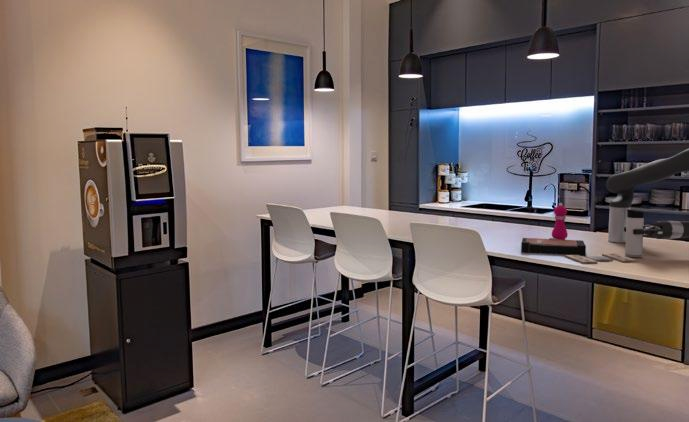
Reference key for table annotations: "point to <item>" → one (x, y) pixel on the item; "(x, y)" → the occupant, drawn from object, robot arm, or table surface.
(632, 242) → the travel mug
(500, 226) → the table surface
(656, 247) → the table surface
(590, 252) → the table surface
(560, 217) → the pepper mill
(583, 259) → the brown flat boards
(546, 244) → the book
